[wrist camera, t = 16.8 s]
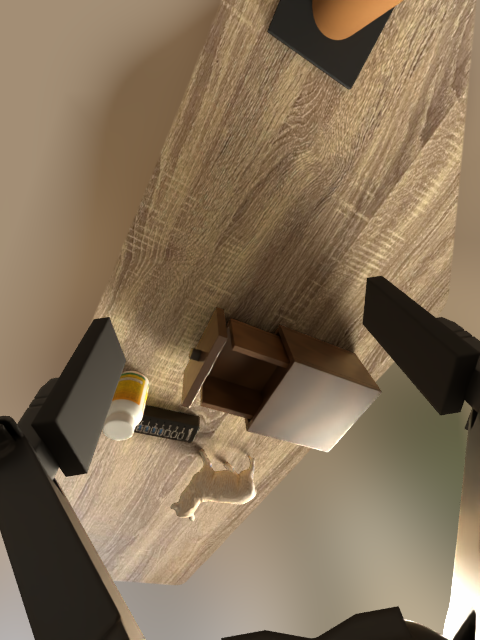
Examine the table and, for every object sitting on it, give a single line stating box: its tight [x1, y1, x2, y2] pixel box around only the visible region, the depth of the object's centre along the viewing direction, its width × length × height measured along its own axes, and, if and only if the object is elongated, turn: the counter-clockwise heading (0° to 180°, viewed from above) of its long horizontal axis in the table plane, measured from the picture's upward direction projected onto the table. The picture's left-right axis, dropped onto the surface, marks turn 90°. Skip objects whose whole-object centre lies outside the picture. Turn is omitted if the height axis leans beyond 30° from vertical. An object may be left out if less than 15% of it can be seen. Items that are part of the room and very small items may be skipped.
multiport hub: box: [134, 405, 200, 443], centre depth 53 cm, size 4×14×2 cm, turn 67°
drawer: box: [181, 307, 290, 419], centre depth 45 cm, size 15×12×7 cm
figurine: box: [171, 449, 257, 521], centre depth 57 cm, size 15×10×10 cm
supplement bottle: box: [103, 371, 149, 440], centre depth 46 cm, size 5×5×10 cm
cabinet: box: [245, 325, 382, 452], centre depth 48 cm, size 15×14×9 cm
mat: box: [268, 0, 395, 89], centre depth 29 cm, size 10×10×1 cm
